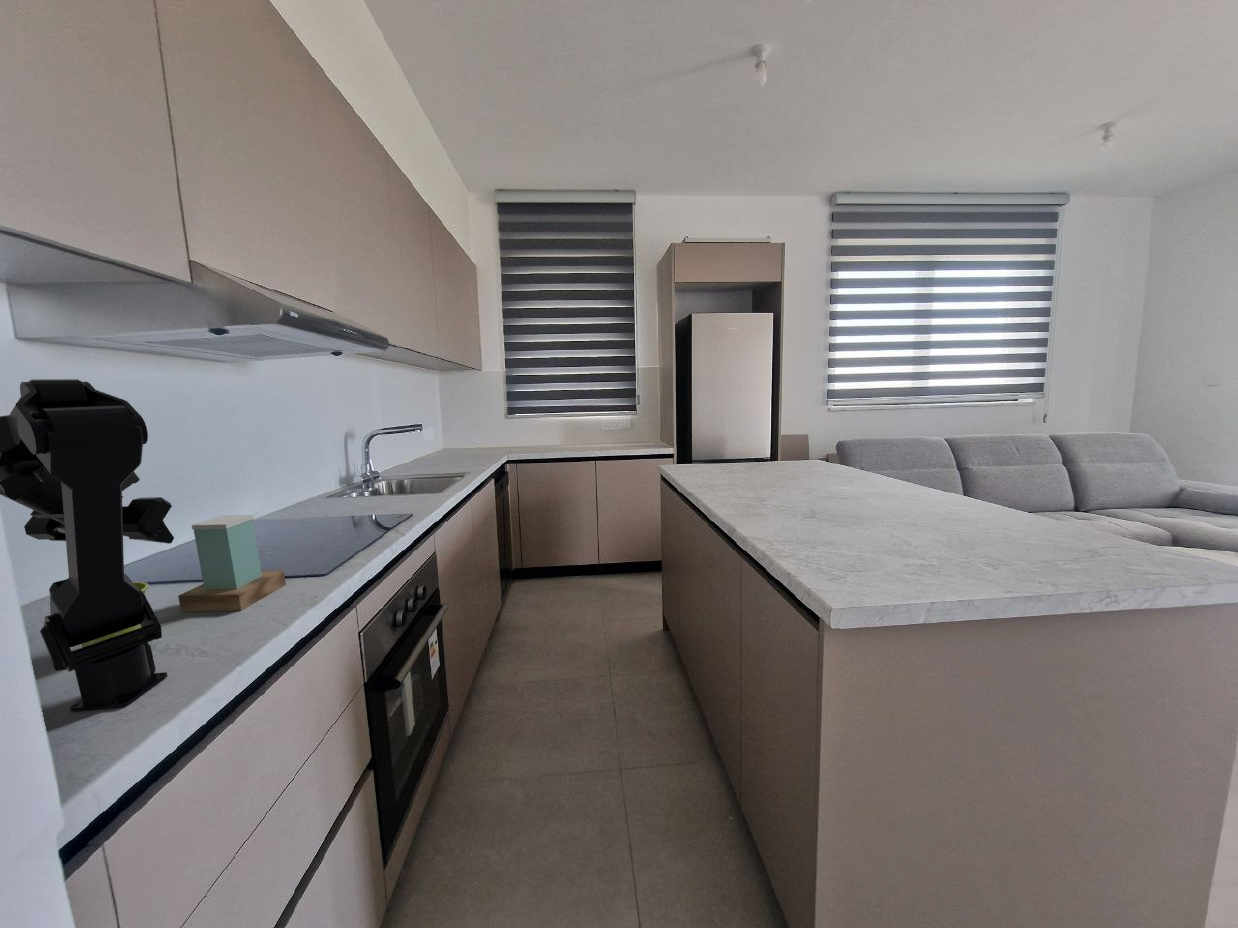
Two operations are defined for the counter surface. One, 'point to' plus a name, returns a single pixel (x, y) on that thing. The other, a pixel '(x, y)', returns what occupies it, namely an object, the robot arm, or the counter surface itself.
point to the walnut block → (232, 594)
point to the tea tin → (227, 551)
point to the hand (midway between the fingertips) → (145, 541)
